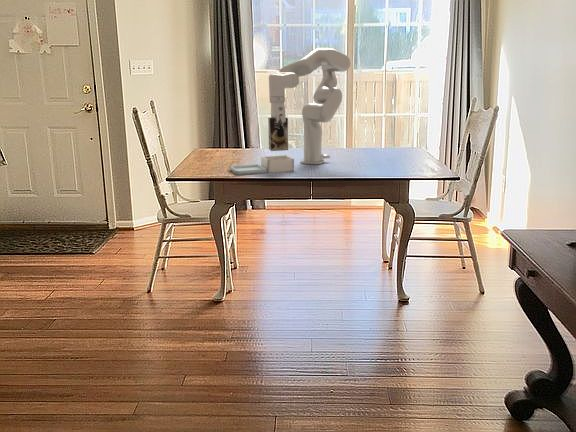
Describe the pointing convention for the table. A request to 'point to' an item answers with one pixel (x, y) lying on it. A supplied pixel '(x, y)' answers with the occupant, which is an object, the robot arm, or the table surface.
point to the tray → (247, 169)
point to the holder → (277, 163)
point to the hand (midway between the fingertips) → (278, 135)
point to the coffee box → (274, 140)
